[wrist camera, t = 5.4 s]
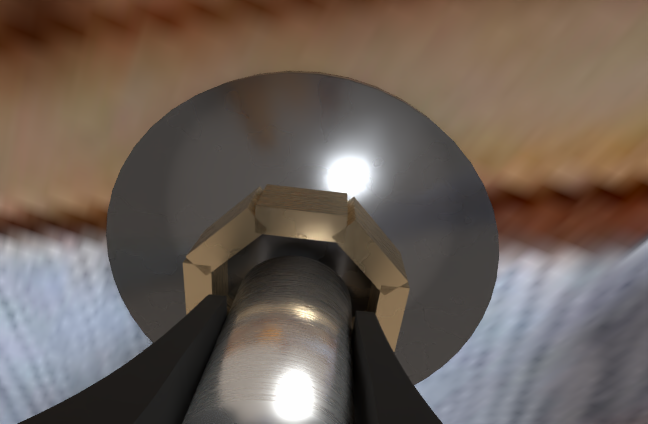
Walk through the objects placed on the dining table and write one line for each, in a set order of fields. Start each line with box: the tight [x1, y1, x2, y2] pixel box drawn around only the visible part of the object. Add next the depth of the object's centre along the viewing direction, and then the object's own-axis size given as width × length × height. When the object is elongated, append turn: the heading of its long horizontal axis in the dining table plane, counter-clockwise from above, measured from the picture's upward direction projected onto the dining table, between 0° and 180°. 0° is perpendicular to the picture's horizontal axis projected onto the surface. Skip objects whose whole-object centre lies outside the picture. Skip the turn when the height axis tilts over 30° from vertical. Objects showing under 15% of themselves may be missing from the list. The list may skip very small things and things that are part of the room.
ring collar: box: [106, 71, 499, 385], centre depth 15 cm, size 16×16×3 cm
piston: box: [182, 256, 355, 424], centre depth 12 cm, size 4×4×6 cm
